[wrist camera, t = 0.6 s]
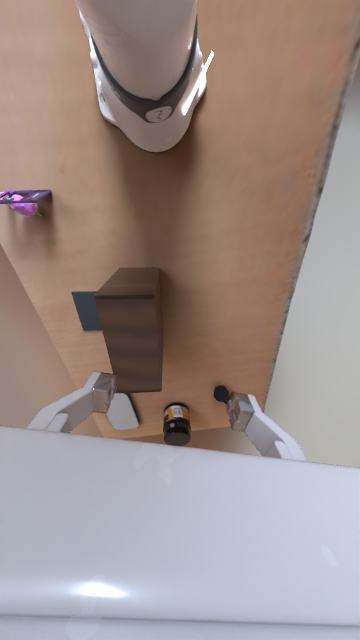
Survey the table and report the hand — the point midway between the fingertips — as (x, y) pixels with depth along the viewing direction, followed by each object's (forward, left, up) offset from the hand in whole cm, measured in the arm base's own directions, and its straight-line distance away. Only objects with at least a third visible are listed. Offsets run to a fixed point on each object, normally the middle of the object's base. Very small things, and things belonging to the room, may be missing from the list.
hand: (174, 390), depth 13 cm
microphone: (+56, +10, -39) cm, 69 cm away
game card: (-19, -25, -39) cm, 50 cm away
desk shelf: (+11, -10, -39) cm, 41 cm away
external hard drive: (+51, -33, -39) cm, 72 cm away
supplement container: (+58, -11, -39) cm, 71 cm away
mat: (+8, -24, -39) cm, 46 cm away
